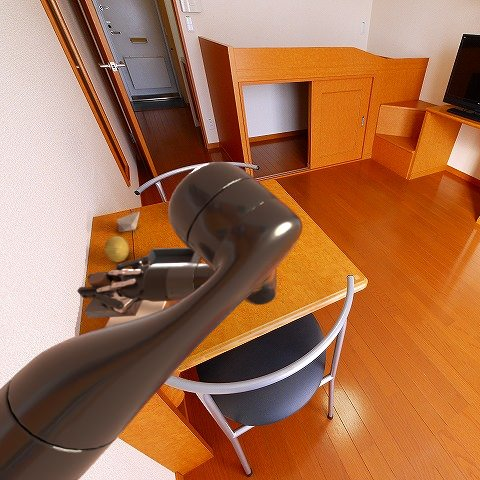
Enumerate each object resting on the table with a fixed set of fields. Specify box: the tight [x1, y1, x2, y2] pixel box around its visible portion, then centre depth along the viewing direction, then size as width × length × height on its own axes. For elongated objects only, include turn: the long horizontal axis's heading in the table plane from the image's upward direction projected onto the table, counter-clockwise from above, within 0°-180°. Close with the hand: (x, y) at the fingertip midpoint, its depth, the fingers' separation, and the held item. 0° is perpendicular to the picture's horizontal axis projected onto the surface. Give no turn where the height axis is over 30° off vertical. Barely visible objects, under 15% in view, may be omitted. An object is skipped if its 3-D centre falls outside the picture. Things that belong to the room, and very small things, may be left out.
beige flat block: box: [104, 300, 179, 328], centre depth 68 cm, size 20×11×6 cm, turn 5°
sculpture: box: [104, 235, 130, 263], centre depth 84 cm, size 8×4×8 cm, turn 8°
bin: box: [147, 247, 201, 265], centre depth 81 cm, size 17×14×3 cm
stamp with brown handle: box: [83, 272, 142, 319], centre depth 56 cm, size 5×9×9 cm, turn 96°
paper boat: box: [116, 209, 140, 233], centre depth 97 cm, size 12×6×9 cm
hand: (85, 285), depth 54 cm, fingers closed on stamp with brown handle, 3 cm apart
